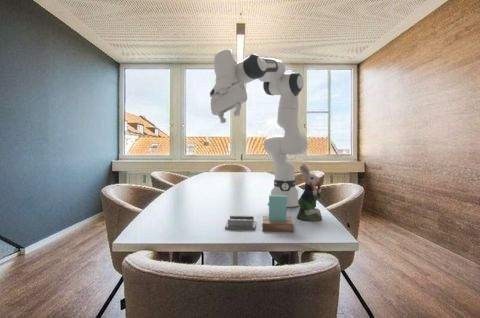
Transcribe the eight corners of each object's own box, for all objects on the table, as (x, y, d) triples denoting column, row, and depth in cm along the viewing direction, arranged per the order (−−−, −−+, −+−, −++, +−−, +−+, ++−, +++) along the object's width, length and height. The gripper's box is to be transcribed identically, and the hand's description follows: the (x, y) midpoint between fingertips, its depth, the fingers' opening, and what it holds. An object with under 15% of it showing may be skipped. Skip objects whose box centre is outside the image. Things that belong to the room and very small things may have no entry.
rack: (228, 222, 136) (228, 214, 136) (256, 223, 135) (256, 215, 135) (225, 229, 126) (225, 220, 126) (254, 229, 125) (254, 221, 125)
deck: (263, 223, 136) (263, 216, 135) (291, 223, 134) (291, 217, 134) (262, 230, 124) (262, 223, 123) (293, 231, 122) (293, 224, 122)
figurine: (321, 225, 138) (330, 169, 136) (291, 220, 141) (300, 165, 138) (320, 219, 149) (329, 167, 146) (292, 214, 151) (300, 162, 149)
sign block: (268, 218, 131) (269, 195, 130) (285, 219, 130) (286, 195, 130) (268, 220, 128) (269, 196, 127) (286, 221, 127) (286, 196, 127)
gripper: (248, 78, 124) (252, 112, 121) (219, 96, 139) (222, 127, 137) (236, 75, 120) (240, 110, 117) (207, 94, 135) (209, 125, 133)
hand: (230, 119), depth 127 cm, fingers open, 8 cm apart
